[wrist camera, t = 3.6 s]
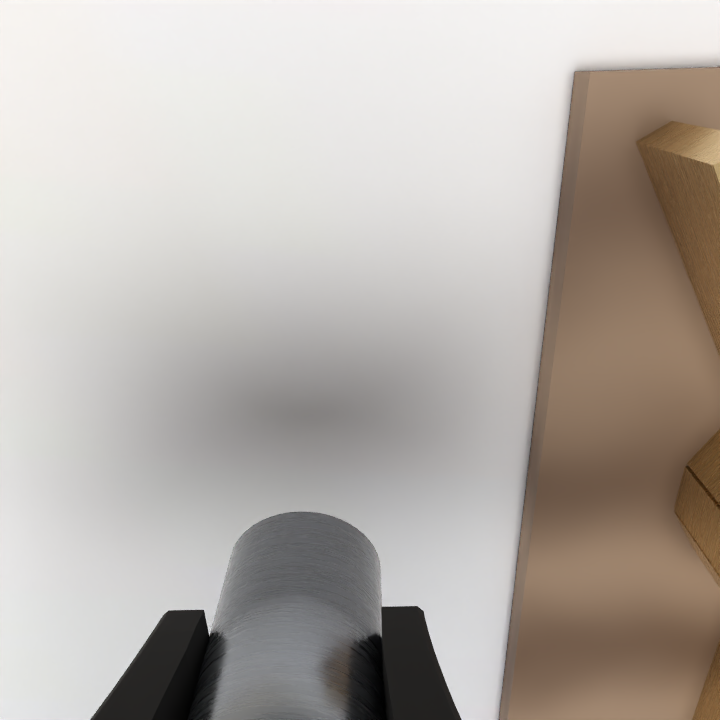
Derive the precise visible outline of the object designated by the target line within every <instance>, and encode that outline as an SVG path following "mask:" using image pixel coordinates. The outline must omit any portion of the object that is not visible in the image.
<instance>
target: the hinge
mask: <svg viewBox="0 0 720 720" xmlns="http://www.w3.org/2000/svg"><path fill="white" fill-rule="evenodd" d="M636 145H637V147H638V150H639V152H640V155H641V157H642V160H643V162H644V165H645V168H646V170H647V173H648V175H649V178H650V180H651V183H652V185H653V188H654V190H655V193H656V196H657V198H658V201H659V203H660V206H661V208H662V211H663V213H664V216H665V219H666V221H667V224H668V226H669V229H670V231H671V234H672V236H673V239H674V242H675V244H676V247H677V249H678V252H679V254H680V257H681V259H682V262H683V265H684V267H685V270H686V272H687V275H688V277H689V280H690V282H691V285H692V288H693V290H694V293H695V295H696V298H697V300H698V303H699V305H700V308H701V311H702V313H703V316H704V318H705V321H706V323H707V326H708V328H709V331H710V334H711V336H712V339H713V341H714V344H715V346H716V349H717V351H718V354H719V356H720V130H716V129H711V128H706V127H701V126H696V125H691V124H685V123H680V122H675V121H671V122H669V123H667V124H666V125H664V126H662V127H660V128H659V129H657V130H655V131H653V132H652V133H650V134H648V135H647V136H645V137H643V138H641V139H640V140H638V141H636ZM687 464H688V466H685V468H684V472H683V476H682V480H681V483H680V487H679V491H678V495H677V499H676V503H675V507H674V510H675V511H674V512H675V514H676V516H677V518H678V521H679V523H680V525H681V527H682V529H683V531H684V533H685V535H686V537H687V539H688V541H689V543H690V545H691V547H692V548H693V549H694V551H695V552H696V554H697V555H698V557H699V558H700V560H701V561H702V563H703V564H704V566H705V567H706V569H707V570H708V572H709V573H710V575H711V576H712V578H713V579H714V581H715V582H716V584H717V585H718V587H719V588H720V429H719V430H718V431H717V432H716V433H715V434H714V435H713V436H712V437H711V438H710V440H709V441H708V442H707V443H706V444H705V445H704V446H703V447H702V448H701V449H700V450H699V451H698V452H697V453H696V454H695V455H694V456H693V457H692V458H691V459H690V460H689V461H688V462H687ZM692 720H720V640H719V643H718V646H717V649H716V652H715V655H714V657H713V660H712V663H711V666H710V669H709V672H708V675H707V678H706V681H705V684H704V686H703V689H702V692H701V695H700V698H699V701H698V704H697V707H696V710H695V713H694V715H693V718H692Z"/></svg>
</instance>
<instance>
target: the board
mask: <svg viewBox="0 0 720 720" xmlns="http://www.w3.org/2000/svg"><path fill="white" fill-rule="evenodd" d="M671 121H675V122H680V123H685V124H691V125H696V126H701V127H706V128H711V129H716V130H720V67H705V68H673V69H642V70H611V71H579V72H575V75H574V83H573V92H572V100H571V109H570V117H569V126H568V134H567V143H566V151H565V160H564V168H563V177H562V186H561V194H560V203H559V211H558V220H557V228H556V237H555V245H554V254H553V262H552V271H551V279H550V288H549V296H548V305H547V313H546V322H545V330H544V339H543V347H542V356H541V365H540V373H539V382H538V390H537V399H536V407H535V416H534V424H533V433H532V441H531V450H530V458H529V467H528V475H527V484H526V492H525V501H524V509H523V518H522V527H521V535H520V544H519V552H518V561H517V569H516V578H515V586H514V595H513V603H512V612H511V620H510V629H509V637H508V646H507V654H506V663H505V671H504V680H503V688H502V697H501V706H500V714H499V720H692V718H693V715H694V713H695V710H696V707H697V704H698V701H699V698H700V695H701V692H702V689H703V686H704V684H705V681H706V678H707V675H708V672H709V669H710V666H711V663H712V660H713V657H714V655H715V652H716V649H717V646H718V643H719V640H720V588H719V587H718V585H717V584H716V582H715V581H714V579H713V578H712V576H711V575H710V573H709V572H708V570H707V569H706V567H705V566H704V564H703V563H702V561H701V560H700V558H699V557H698V555H697V554H696V552H695V551H694V549H693V548H692V547H691V545H690V543H689V541H688V539H687V537H686V535H685V533H684V531H683V529H682V527H681V525H680V523H679V521H678V518H677V516H676V514H675V512H674V511H675V510H674V507H675V503H676V499H677V495H678V491H679V487H680V483H681V480H682V476H683V472H684V468H685V466H688V464H687V462H688V461H689V460H690V459H691V458H692V457H693V456H694V455H695V454H696V453H697V452H698V451H699V450H700V449H701V448H702V447H703V446H704V445H705V444H706V443H707V442H708V441H709V440H710V438H711V437H712V436H713V435H714V434H715V433H716V432H717V431H718V430H719V429H720V356H719V354H718V351H717V349H716V346H715V344H714V341H713V339H712V336H711V334H710V331H709V328H708V326H707V323H706V321H705V318H704V316H703V313H702V311H701V308H700V305H699V303H698V300H697V298H696V295H695V293H694V290H693V288H692V285H691V282H690V280H689V277H688V275H687V272H686V270H685V267H684V265H683V262H682V259H681V257H680V254H679V252H678V249H677V247H676V244H675V242H674V239H673V236H672V234H671V231H670V229H669V226H668V224H667V221H666V219H665V216H664V213H663V211H662V208H661V206H660V203H659V201H658V198H657V196H656V193H655V190H654V188H653V185H652V183H651V180H650V178H649V175H648V173H647V170H646V168H645V165H644V162H643V160H642V157H641V155H640V152H639V150H638V147H637V145H636V141H638V140H640V139H641V138H643V137H645V136H647V135H648V134H650V133H652V132H653V131H655V130H657V129H659V128H660V127H662V126H664V125H666V124H667V123H669V122H671Z"/></svg>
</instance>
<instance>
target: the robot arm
mask: <svg viewBox="0 0 720 720" xmlns="http://www.w3.org/2000/svg"><path fill="white" fill-rule="evenodd" d="M381 620H382V658H383V688H384V700H385V713H386V720H461V718H460V715H459V713H458V711H457V709H456V706H455V704H454V702H453V699H452V697H451V694H450V692H449V689H448V687H447V684H446V682H445V679H444V677H443V674H442V671H441V669H440V666H439V663H438V660H437V657H436V655H435V652H434V649H433V646H432V642H431V639H430V636H429V632H428V629H427V625H426V621H425V616H424V611H423V610H421V609H420V608H419V607H417V606H404V607H381ZM208 640H209V633H208V628H207V623H206V618H205V613H204V610H173V611H168V612H167V613H165V614H164V615H163V617H162V618H161V620H160V621H159V623H158V624H157V626H156V627H155V629H154V630H153V632H152V633H151V635H150V636H149V638H148V639H147V641H146V642H145V644H144V645H143V647H142V648H141V650H140V651H139V653H138V654H137V655H136V657H135V658H134V660H133V661H132V663H131V664H130V666H129V667H128V669H127V670H126V671H125V673H124V674H123V676H122V677H121V678H120V680H119V681H118V683H117V684H116V686H115V687H114V688H113V690H112V691H111V693H110V694H109V695H108V697H107V698H106V699H105V701H104V702H103V703H102V705H101V706H100V707H99V709H98V710H97V711H96V713H95V714H94V716H93V717H92V718H91V720H187V719H188V715H189V712H190V708H191V704H192V700H193V697H194V693H195V689H196V685H197V682H198V678H199V674H200V670H201V667H202V663H203V659H204V655H205V652H206V648H207V644H208Z"/></svg>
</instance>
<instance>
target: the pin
mask: <svg viewBox="0 0 720 720" xmlns="http://www.w3.org/2000/svg"><path fill="white" fill-rule="evenodd" d="M381 607H382V596H381V569H380V561H379V558H378V554H377V552H376V550H375V548H374V546H373V545H372V544H371V542H370V541H369V540H368V539H367V537H366V536H365V535H364V534H363V533H361V532H360V531H359V530H358V529H357V528H355V527H353V526H352V525H350V524H349V523H347V522H345V521H343V520H341V519H338V518H335V517H332V516H329V515H325V514H321V513H313V512H290V513H284V514H279V515H275V516H272V517H269V518H267V519H264V520H262V521H260V522H258V523H257V524H255V525H253V526H252V527H251V528H249V529H248V530H247V531H246V532H245V533H244V534H243V535H242V536H241V537H240V538H239V540H238V541H237V543H236V544H235V546H234V549H233V551H232V554H231V558H230V562H229V565H228V569H227V573H226V577H225V580H224V584H223V588H222V592H221V595H220V599H219V603H218V607H217V610H216V614H215V618H214V622H213V625H212V629H211V633H210V637H209V640H208V644H207V648H206V652H205V655H204V659H203V663H202V667H201V670H200V674H199V678H198V682H197V685H196V689H195V693H194V697H193V700H192V704H191V708H190V712H189V715H188V719H187V720H386V713H385V700H384V688H383V658H382V620H381Z"/></svg>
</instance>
